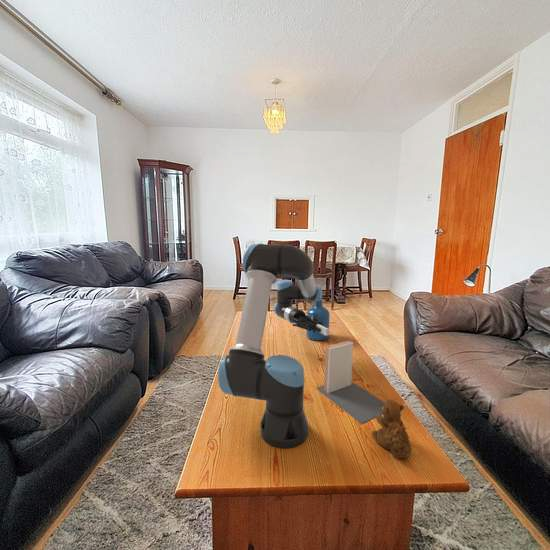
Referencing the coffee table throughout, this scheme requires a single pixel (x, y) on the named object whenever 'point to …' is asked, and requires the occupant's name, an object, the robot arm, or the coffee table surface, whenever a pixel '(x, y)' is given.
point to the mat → (355, 402)
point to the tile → (338, 366)
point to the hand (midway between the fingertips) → (327, 332)
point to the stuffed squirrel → (392, 430)
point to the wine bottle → (322, 315)
